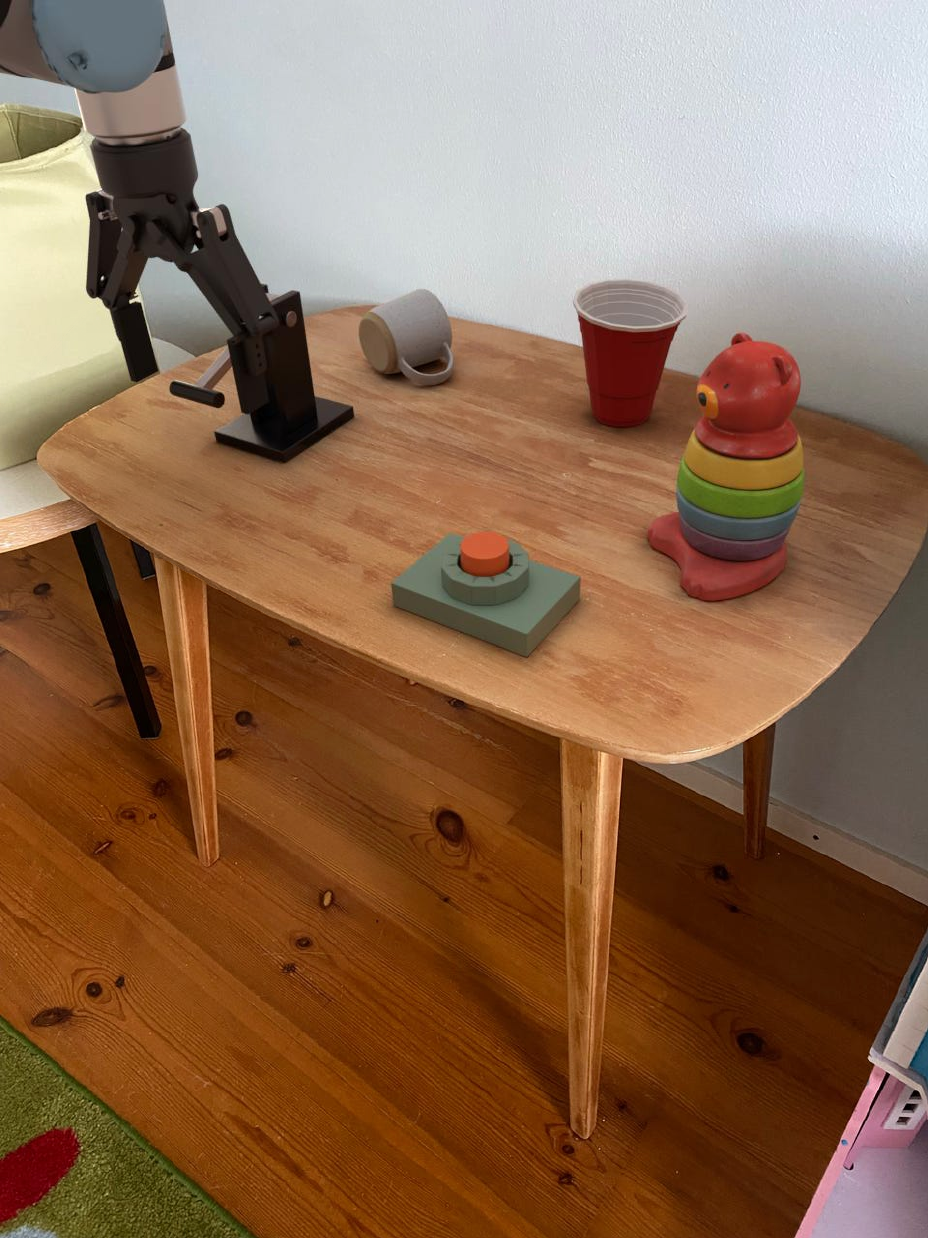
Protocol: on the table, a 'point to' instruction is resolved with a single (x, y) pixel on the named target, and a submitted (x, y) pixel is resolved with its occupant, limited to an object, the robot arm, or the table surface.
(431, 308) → the ceramic mug
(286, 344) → the bracket
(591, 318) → the plastic cup
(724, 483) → the stacking bear
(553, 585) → the control block
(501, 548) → the button
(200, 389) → the lever
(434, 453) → the table surface
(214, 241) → the robot arm
